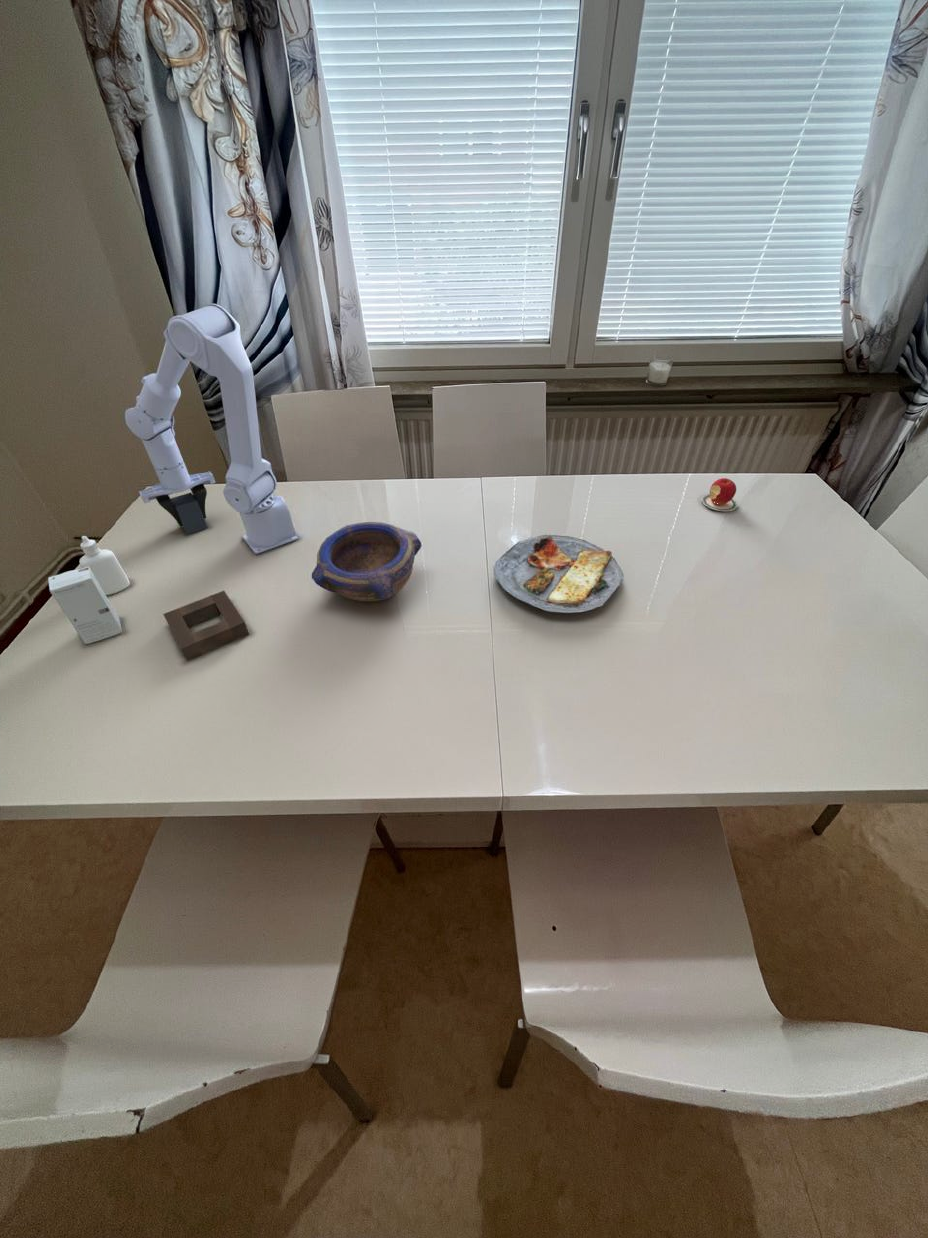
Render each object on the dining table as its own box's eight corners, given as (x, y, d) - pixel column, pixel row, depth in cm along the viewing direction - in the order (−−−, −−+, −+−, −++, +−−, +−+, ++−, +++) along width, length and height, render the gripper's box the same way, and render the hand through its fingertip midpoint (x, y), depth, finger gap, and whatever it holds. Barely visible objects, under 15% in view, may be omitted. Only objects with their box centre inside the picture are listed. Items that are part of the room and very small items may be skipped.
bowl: (306, 605, 96) (294, 562, 90) (353, 552, 109) (345, 511, 102) (392, 628, 92) (386, 584, 85) (431, 570, 104) (429, 528, 97)
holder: (229, 602, 97) (224, 590, 95) (249, 634, 91) (244, 621, 89) (169, 626, 92) (163, 613, 90) (186, 661, 86) (180, 648, 84)
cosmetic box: (85, 646, 89) (46, 592, 80) (83, 630, 91) (45, 577, 83) (125, 632, 91) (91, 578, 83) (121, 617, 94) (88, 564, 86)
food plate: (537, 530, 115) (538, 517, 112) (637, 567, 105) (641, 553, 102) (473, 589, 100) (474, 575, 97) (583, 638, 90) (586, 623, 88)
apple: (732, 516, 119) (742, 491, 115) (697, 506, 122) (705, 481, 118) (739, 501, 124) (749, 476, 120) (705, 492, 127) (714, 468, 123)
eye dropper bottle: (103, 582, 101) (71, 531, 93) (133, 580, 102) (104, 528, 94) (95, 597, 98) (61, 545, 90) (126, 594, 99) (96, 542, 91)
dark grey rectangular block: (202, 519, 118) (190, 492, 114) (208, 528, 116) (197, 500, 111) (181, 525, 116) (169, 498, 112) (187, 534, 114) (175, 507, 109)
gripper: (198, 447, 111) (219, 502, 120) (125, 466, 105) (153, 523, 114) (208, 459, 107) (229, 515, 116) (133, 479, 101) (161, 537, 110)
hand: (192, 520), depth 115 cm, fingers closed on dark grey rectangular block, 4 cm apart
